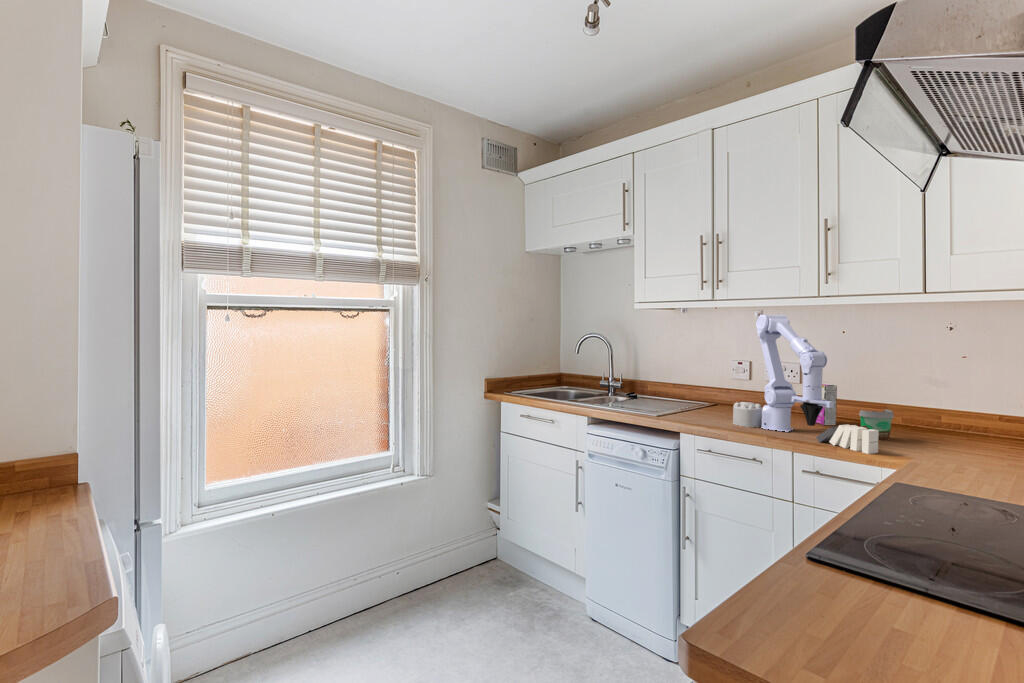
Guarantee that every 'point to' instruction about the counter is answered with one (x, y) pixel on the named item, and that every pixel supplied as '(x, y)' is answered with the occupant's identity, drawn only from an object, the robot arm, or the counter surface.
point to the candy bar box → (827, 414)
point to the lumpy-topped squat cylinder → (747, 414)
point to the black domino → (827, 434)
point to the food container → (877, 422)
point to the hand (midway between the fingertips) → (811, 425)
